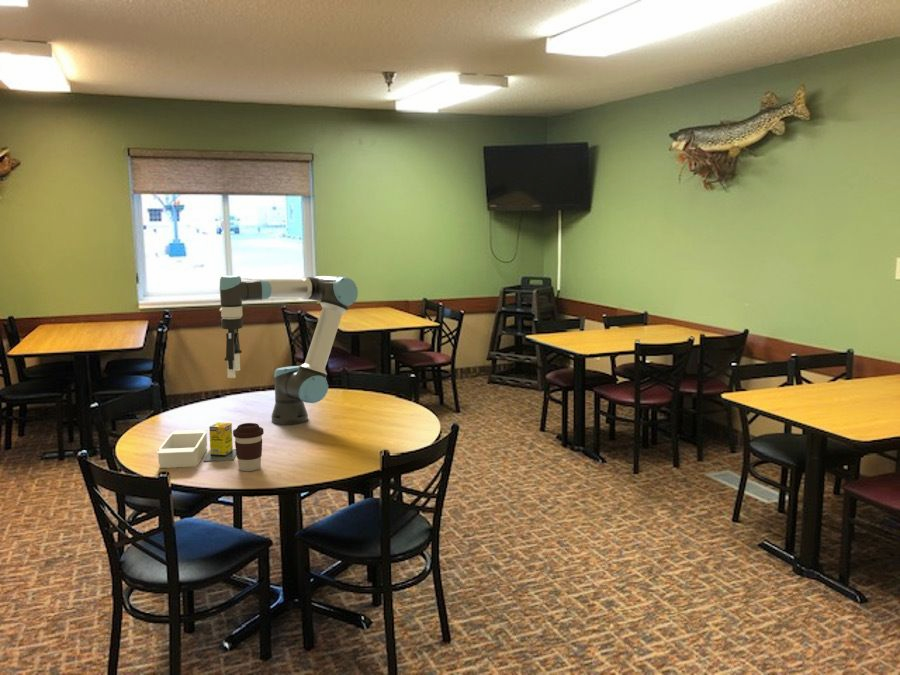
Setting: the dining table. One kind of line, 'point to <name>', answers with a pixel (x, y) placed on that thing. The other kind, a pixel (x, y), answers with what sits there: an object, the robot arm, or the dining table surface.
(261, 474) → the dining table surface
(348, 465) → the dining table surface
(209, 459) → the mat
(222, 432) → the supplement box
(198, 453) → the carton
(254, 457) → the coffee cup
